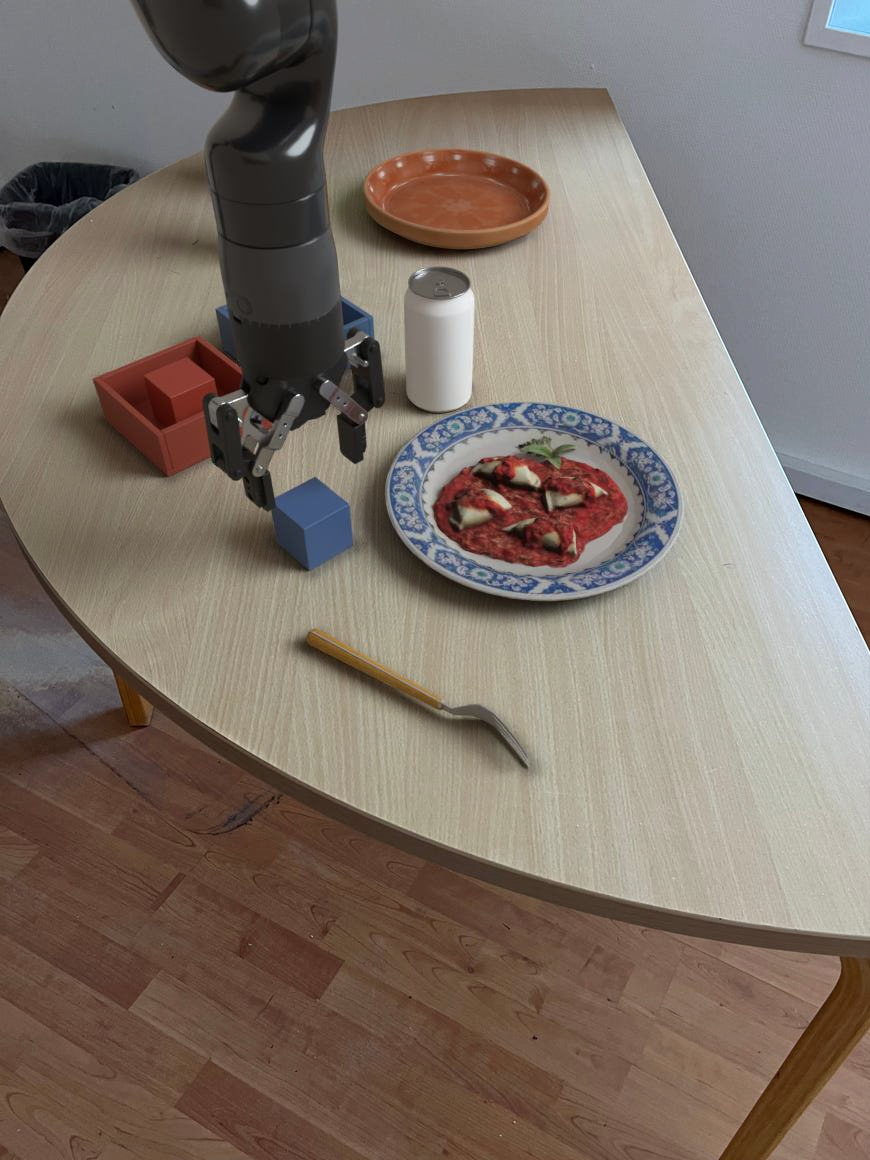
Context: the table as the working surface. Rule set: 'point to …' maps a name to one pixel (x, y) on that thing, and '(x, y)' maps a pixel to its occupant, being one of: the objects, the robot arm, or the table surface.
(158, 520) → the table surface
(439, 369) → the can
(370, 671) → the fork
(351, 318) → the blue bin
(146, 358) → the red bin
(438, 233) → the saucer
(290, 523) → the blue block
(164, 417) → the red block
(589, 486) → the ceramic plate
